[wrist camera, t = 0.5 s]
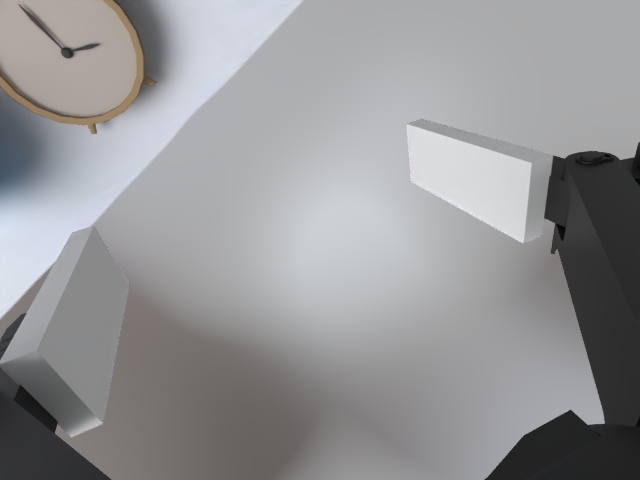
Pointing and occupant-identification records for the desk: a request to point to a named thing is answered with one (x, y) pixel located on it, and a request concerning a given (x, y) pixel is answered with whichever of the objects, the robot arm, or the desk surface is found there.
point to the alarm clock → (70, 59)
